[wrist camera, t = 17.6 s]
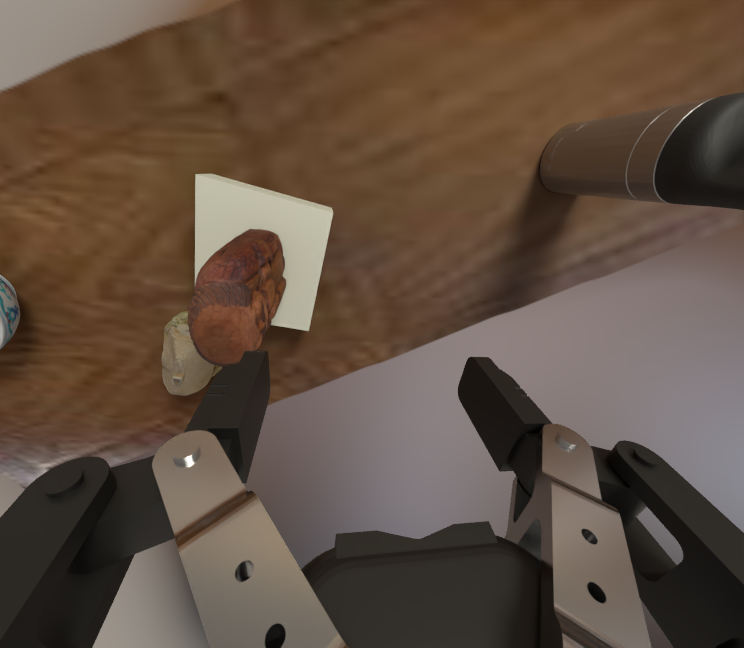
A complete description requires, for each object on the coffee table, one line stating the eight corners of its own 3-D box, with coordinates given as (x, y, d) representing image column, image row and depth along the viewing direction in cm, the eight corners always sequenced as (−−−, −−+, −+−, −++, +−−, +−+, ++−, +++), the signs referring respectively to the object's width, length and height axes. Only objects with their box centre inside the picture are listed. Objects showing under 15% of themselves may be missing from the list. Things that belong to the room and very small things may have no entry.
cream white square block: (331, 207, 42) (333, 212, 36) (309, 314, 49) (308, 330, 44) (212, 173, 37) (195, 174, 32) (209, 296, 45) (194, 312, 40)
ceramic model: (170, 298, 44) (133, 330, 35) (245, 320, 47) (228, 353, 39) (159, 368, 49) (125, 410, 40) (227, 382, 53) (209, 424, 44)
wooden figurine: (288, 309, 42) (266, 393, 26) (242, 307, 40) (190, 394, 25) (285, 226, 36) (254, 270, 20) (232, 221, 35) (157, 264, 19)
